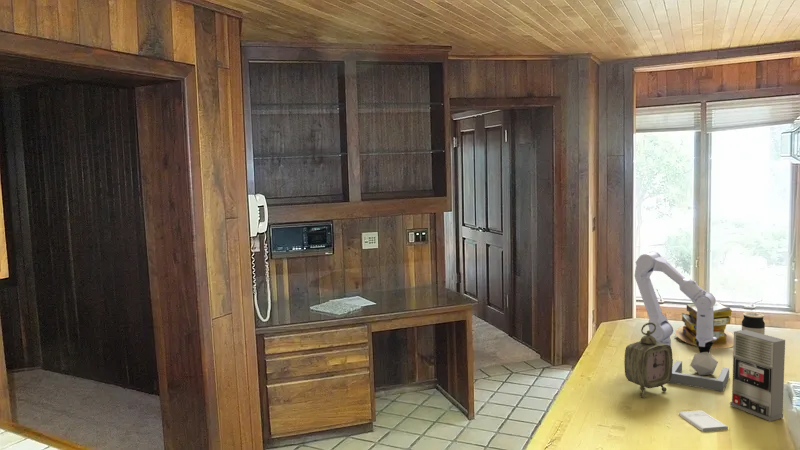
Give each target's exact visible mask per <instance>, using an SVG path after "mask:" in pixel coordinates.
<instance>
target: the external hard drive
mask: <svg viewBox="0 0 800 450" xmlns="http://www.w3.org/2000/svg"><path fill="white" fill-rule="evenodd" d="M678 416H680V417H681V418H682V419H684V420H685V421H686V422H688V423H689V424H691V425H692V426H694V427H695V428H697V429H698V430H699V431H701V432H703V433H704V432H715V431H726V430H729V426H727V425H726V424H725V423H722V421H720V420H718V419H716V418H715V417H713V416H711V415H710V414H708V413H707V412H705V411H704V410H701V409H700V410H699V409H698V410H689V411H687V410H686V411H680V412H678Z"/></svg>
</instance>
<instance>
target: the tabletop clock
mask: <svg viewBox="0 0 800 450" xmlns="http://www.w3.org/2000/svg"><path fill="white" fill-rule="evenodd" d="M650 324H652V325H654V327H655V328H654V330H653V331H652V332H650V331H649V330H647V331H646V332H644V328H645V327H646V326H648V325H650ZM655 330H656V326H655V324H654V323H648V322H646V323H644V324H643V325H642V327H641V329H640V331H641V334H642V335H643V336H642V337H641V339H640V340H638V341H636V342H633V343H630V344H628V345H627V346H626V347H625V349H624V360H623V361H624V364H623V365H624V375H625V378H626V379H627V381H628V382H631V383H633V384H635V385H639V386H640V387H639V390H640V391H641V393H640V394H639V396H640V398H641V399H644V398H646V394H645V392H644V391H645V389H655V388H660V387H661V391H662V392H663V393H665V392H667V387H665V386H664V385H667V384H668V383H670V382H669V381H670V379H671V375H672V366H673V365H674V362H673V361H674V359H673V351H672V350H673V349H672V345H671V346H669V345H666V344H663V343H659V342H656V339H655V338H654V337H653V336H651V335H650V334H652V333H654V332H655Z"/></svg>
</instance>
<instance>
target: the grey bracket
mask: <svg viewBox="0 0 800 450" xmlns="http://www.w3.org/2000/svg"><path fill="white" fill-rule="evenodd" d="M682 371H683V361H682V360H676V361H675V362H673V365H672V375H671V379H670V381H669V382H668V383H671V384H678V385H682V386H689V387H694V388H701V389H707V390H713V391H718V392H724V390H725V388H726V386H727V384H728V380H729V378H730V367H724V366H723V367H722V368H721V371H720V373H719V376H718V377H717V378H713V377H709V376H704V375H701V376H700V375H694V374H689V373H683V372H682ZM681 372H682V373H681Z"/></svg>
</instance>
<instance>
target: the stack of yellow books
mask: <svg viewBox="0 0 800 450" xmlns="http://www.w3.org/2000/svg"><path fill="white" fill-rule="evenodd" d="M686 312H688V313H684V312H681V317H682V318H681V321H682V322H683V323H684V325H682V326H680V327H678V328H677V329H676V330H675V335H676V337H677V338H678V339H679V340H681V341H683V342H685V343H687V344H689V345H692V346H696V347H698V346H697V344H696V341H698V340H697V339H696V335H697V308H696V306H695V304H694V303H688V304H686ZM732 312H733V310H732V309H731V307H730V306H726V305H724V304H722V303H721V302H718V301H716V303H715V305H714V306H713V314H714V320H713V337H716V338H717V340H712V342H713V345H712V346H711V349H729V348H732V347H733V348H734V333H732V332H731V331H729V330H727V329H726V328H727V325H730V324H731V319H732V318H731V316H732Z"/></svg>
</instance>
